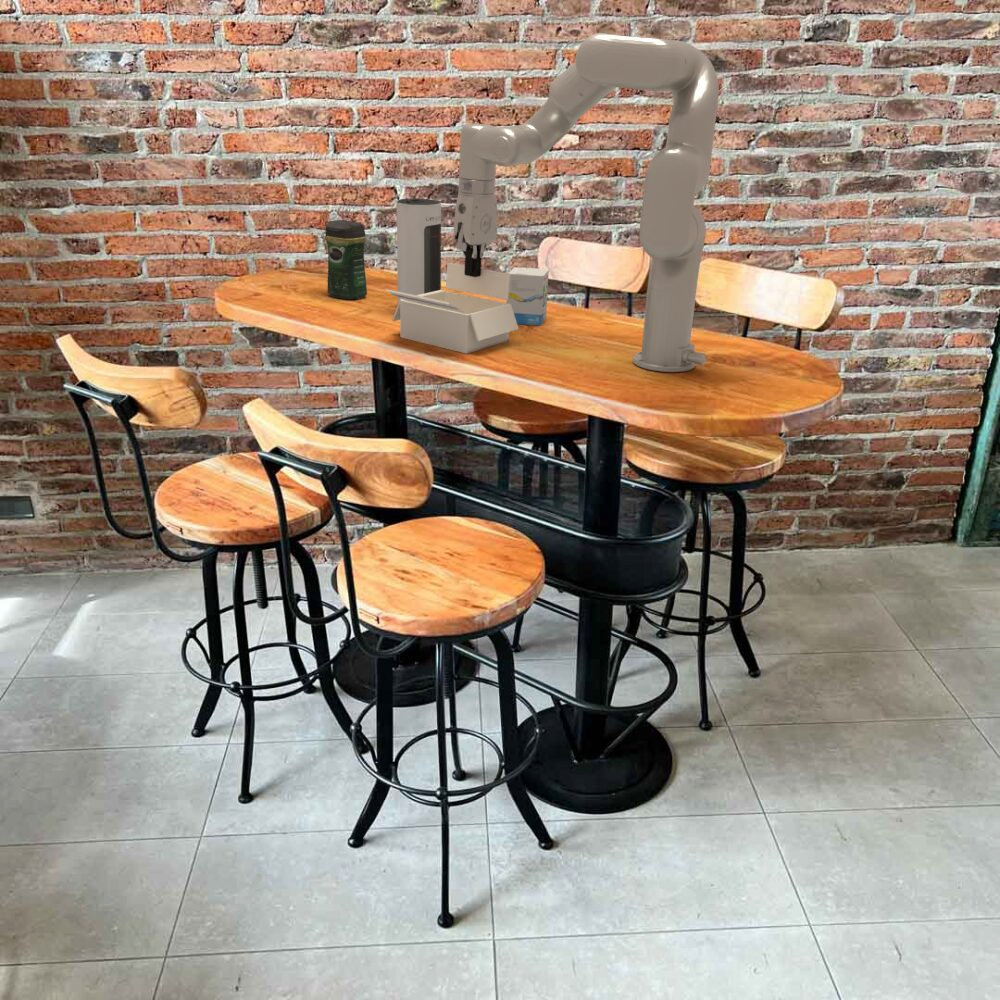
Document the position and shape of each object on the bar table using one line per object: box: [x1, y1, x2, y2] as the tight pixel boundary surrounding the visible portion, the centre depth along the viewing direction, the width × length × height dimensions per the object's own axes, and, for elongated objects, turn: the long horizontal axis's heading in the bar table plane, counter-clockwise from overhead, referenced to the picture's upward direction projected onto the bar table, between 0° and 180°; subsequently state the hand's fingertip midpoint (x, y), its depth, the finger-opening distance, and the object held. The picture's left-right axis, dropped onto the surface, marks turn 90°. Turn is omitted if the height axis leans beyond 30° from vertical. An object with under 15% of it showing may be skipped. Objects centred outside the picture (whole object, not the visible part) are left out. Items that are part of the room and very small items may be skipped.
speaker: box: [396, 197, 442, 304], centre depth 228 cm, size 11×10×26 cm
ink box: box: [505, 266, 550, 327], centre depth 227 cm, size 8×8×12 cm
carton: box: [392, 289, 519, 355], centre depth 210 cm, size 24×14×8 cm, turn 53°
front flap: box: [385, 288, 465, 313], centre depth 200 cm, size 17×1×6 cm
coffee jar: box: [324, 219, 368, 300], centre depth 242 cm, size 10×8×19 cm
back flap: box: [445, 262, 511, 301], centre depth 212 cm, size 17×1×6 cm, turn 53°
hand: (472, 275), depth 211 cm, fingers closed
